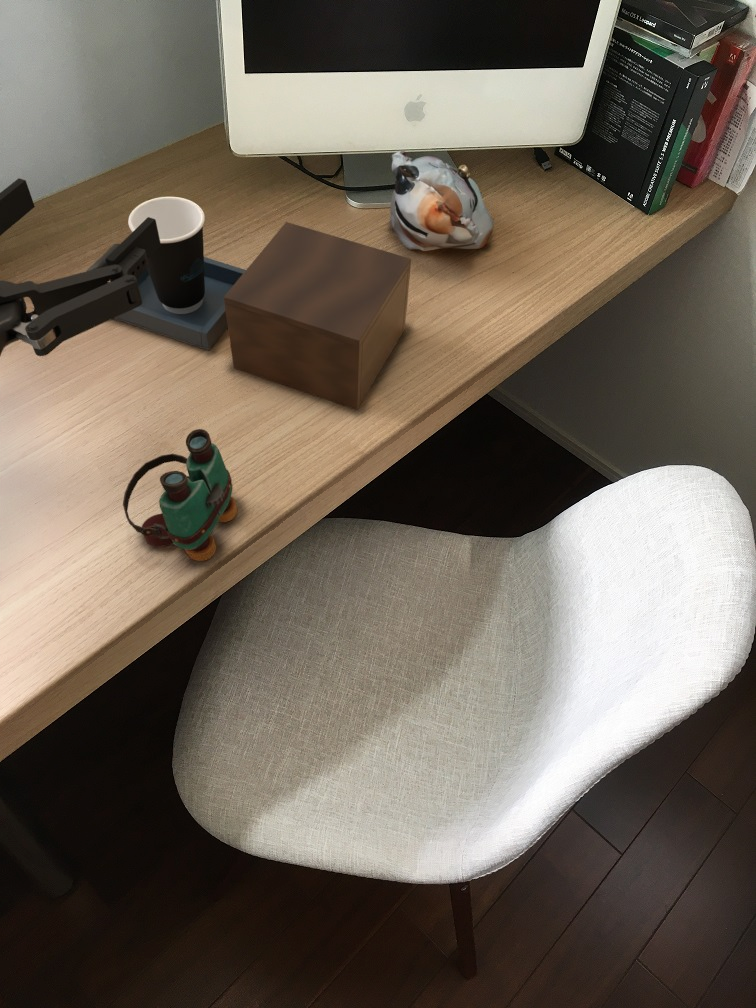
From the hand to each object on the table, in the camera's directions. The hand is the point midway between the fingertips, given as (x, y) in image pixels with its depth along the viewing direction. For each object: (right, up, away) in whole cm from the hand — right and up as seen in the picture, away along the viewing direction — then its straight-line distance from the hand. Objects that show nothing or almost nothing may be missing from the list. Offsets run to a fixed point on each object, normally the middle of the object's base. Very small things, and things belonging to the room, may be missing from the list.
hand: (89, 211), depth 71 cm
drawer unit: (+20, -9, +18) cm, 28 cm away
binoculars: (+8, -28, +3) cm, 30 cm away
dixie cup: (+3, -3, +21) cm, 21 cm away
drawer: (+1, -2, +21) cm, 21 cm away
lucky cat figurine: (+34, +8, +31) cm, 46 cm away
